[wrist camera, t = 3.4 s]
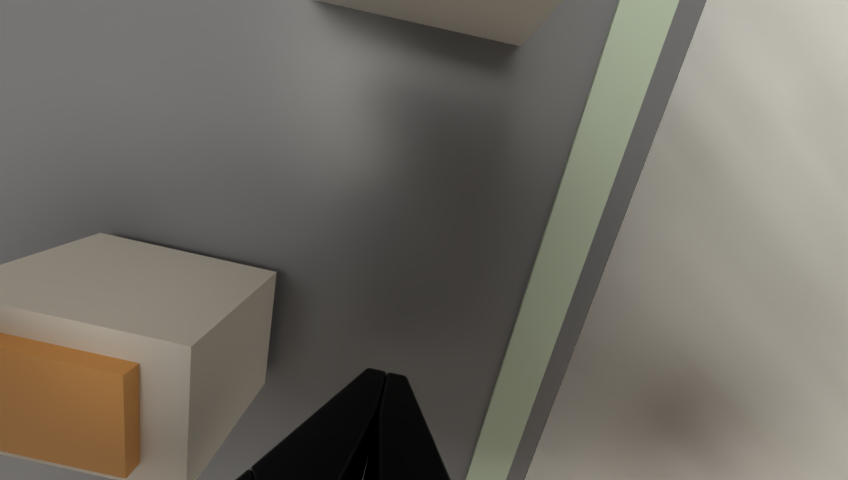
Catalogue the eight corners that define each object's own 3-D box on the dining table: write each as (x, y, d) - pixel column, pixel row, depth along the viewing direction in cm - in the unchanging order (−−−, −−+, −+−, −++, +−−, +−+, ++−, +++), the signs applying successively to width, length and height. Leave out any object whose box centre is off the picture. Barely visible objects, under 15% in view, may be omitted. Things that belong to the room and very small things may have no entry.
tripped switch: (105, 347, 10) (-66, 459, 6) (100, 232, 9) (-100, 296, 6) (265, 383, 10) (174, 512, 6) (276, 271, 9) (177, 358, 6)
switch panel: (-18, 489, 15) (-246, 668, 10) (-157, -308, 8) (-1055, -941, 3) (453, 592, 15) (455, 822, 10) (699, -115, 8) (1064, -456, 3)
